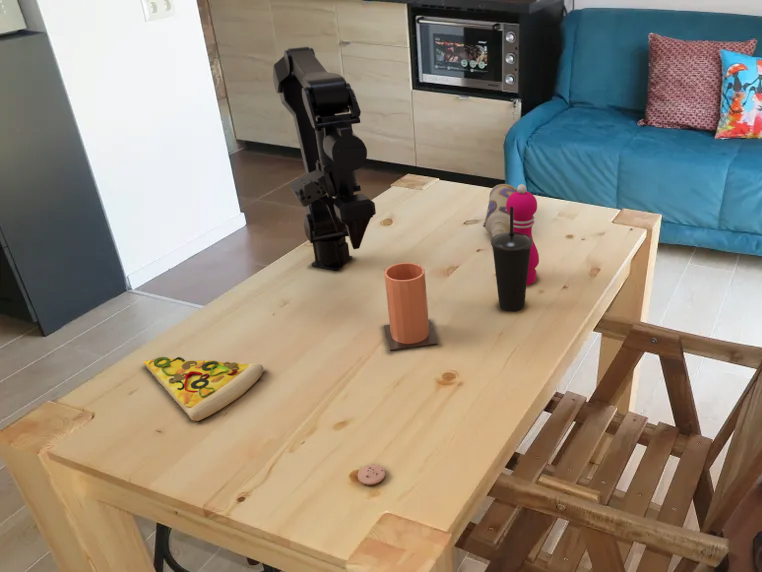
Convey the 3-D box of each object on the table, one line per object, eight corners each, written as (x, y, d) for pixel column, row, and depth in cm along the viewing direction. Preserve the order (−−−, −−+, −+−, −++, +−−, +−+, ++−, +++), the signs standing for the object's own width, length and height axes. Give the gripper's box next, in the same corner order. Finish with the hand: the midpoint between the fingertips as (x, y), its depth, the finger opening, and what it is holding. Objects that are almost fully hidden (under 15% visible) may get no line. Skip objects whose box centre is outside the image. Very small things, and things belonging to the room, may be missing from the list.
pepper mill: (497, 283, 152) (496, 188, 140) (511, 268, 157) (511, 175, 146) (531, 290, 150) (533, 194, 138) (543, 274, 155) (546, 180, 143)
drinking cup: (484, 309, 143) (482, 211, 132) (503, 292, 149) (502, 196, 137) (520, 319, 140) (521, 219, 129) (538, 301, 146) (540, 203, 134)
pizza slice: (203, 426, 115) (198, 410, 113) (108, 390, 122) (102, 375, 120) (272, 374, 126) (268, 359, 124) (181, 344, 133) (177, 330, 131)
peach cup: (384, 339, 134) (377, 277, 127) (401, 321, 139) (395, 260, 132) (419, 346, 132) (413, 283, 125) (435, 327, 137) (431, 266, 130)
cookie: (388, 467, 107) (387, 461, 106) (382, 486, 104) (382, 481, 103) (361, 466, 107) (360, 460, 107) (355, 485, 104) (354, 480, 103)
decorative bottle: (489, 208, 183) (488, 182, 179) (520, 209, 183) (520, 183, 179) (478, 255, 162) (478, 226, 158) (513, 256, 162) (514, 228, 158)
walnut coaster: (390, 351, 132) (390, 349, 131) (384, 327, 138) (384, 325, 138) (437, 344, 133) (437, 342, 133) (429, 321, 140) (429, 319, 140)
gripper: (276, 148, 133) (291, 231, 142) (304, 177, 119) (319, 267, 128) (336, 139, 137) (348, 220, 146) (371, 166, 124) (381, 254, 132)
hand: (348, 240), depth 138 cm, fingers open, 9 cm apart
